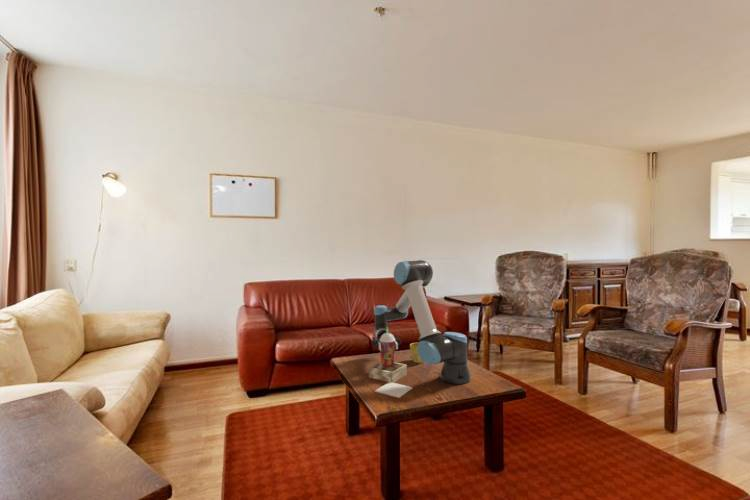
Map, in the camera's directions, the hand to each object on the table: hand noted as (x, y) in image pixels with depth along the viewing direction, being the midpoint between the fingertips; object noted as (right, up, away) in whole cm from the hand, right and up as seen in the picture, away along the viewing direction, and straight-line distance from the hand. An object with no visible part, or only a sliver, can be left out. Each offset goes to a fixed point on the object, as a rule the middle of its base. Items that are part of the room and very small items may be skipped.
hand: (388, 347), depth 189 cm
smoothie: (0, -11, +5) cm, 12 cm away
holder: (0, -16, +5) cm, 17 cm away
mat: (+2, -17, -13) cm, 21 cm away
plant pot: (+19, -16, +27) cm, 36 cm away
